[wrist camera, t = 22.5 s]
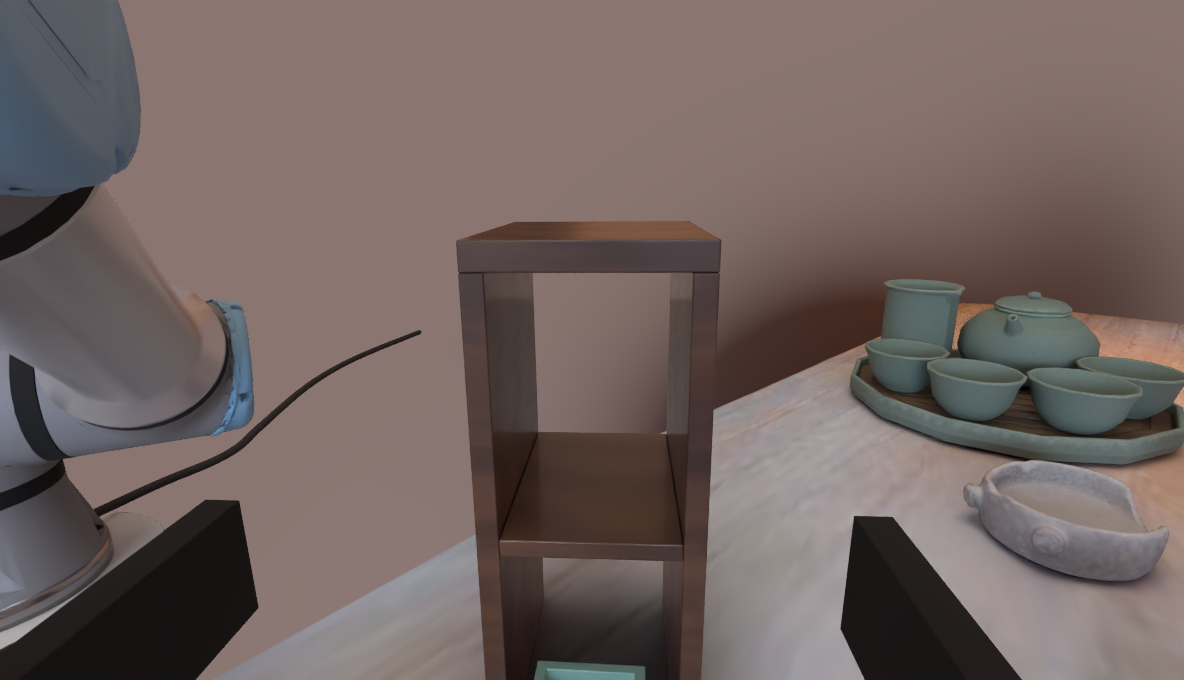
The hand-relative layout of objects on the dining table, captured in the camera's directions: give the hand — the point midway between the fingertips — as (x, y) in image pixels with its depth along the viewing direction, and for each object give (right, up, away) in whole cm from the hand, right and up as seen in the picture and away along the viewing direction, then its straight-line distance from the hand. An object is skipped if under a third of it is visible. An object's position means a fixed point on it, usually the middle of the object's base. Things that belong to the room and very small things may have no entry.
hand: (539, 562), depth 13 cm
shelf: (+2, -18, +28) cm, 33 cm away
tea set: (+61, -5, +74) cm, 96 cm away
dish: (+45, -14, +42) cm, 63 cm away
